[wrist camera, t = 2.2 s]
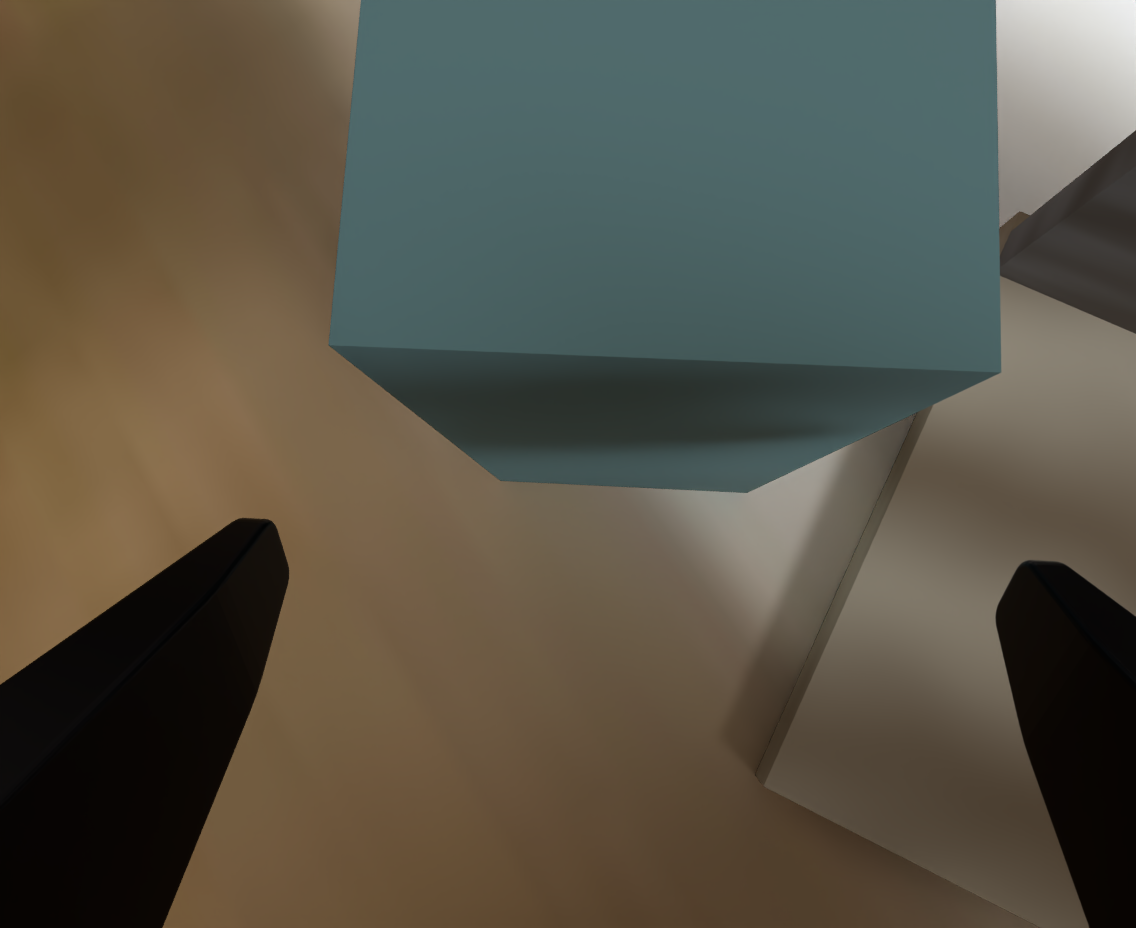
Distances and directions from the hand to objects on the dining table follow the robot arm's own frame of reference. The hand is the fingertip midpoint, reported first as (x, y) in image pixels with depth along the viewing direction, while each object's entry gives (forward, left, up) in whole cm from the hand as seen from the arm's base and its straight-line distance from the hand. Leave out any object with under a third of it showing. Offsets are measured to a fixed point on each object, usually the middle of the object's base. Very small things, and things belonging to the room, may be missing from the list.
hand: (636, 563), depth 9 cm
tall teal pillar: (+3, +3, -11) cm, 11 cm away
